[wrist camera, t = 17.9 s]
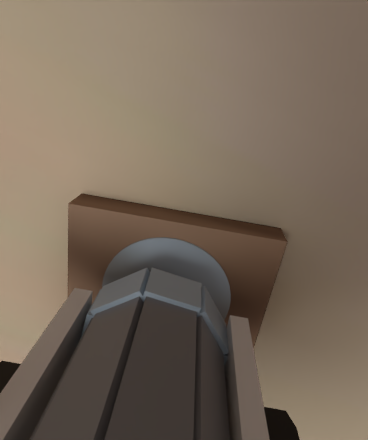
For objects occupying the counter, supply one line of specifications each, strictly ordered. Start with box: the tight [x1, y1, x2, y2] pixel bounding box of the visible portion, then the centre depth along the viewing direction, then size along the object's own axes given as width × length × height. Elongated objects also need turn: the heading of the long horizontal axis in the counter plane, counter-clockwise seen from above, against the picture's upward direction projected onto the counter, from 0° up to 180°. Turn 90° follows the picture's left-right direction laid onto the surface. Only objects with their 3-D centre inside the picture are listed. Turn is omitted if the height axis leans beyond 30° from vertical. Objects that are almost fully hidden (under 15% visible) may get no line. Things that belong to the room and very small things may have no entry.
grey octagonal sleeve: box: [30, 268, 230, 440], centre depth 10 cm, size 6×6×7 cm
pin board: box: [68, 194, 287, 348], centre depth 15 cm, size 18×10×7 cm, turn 171°
